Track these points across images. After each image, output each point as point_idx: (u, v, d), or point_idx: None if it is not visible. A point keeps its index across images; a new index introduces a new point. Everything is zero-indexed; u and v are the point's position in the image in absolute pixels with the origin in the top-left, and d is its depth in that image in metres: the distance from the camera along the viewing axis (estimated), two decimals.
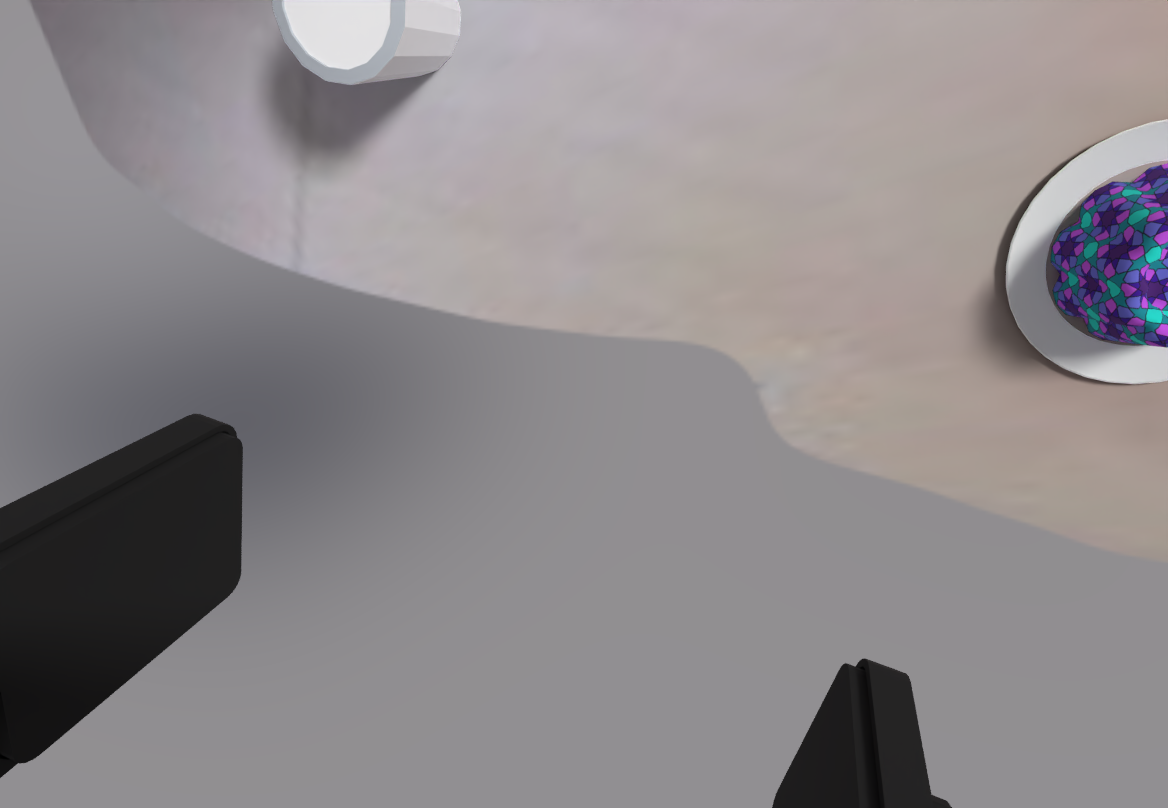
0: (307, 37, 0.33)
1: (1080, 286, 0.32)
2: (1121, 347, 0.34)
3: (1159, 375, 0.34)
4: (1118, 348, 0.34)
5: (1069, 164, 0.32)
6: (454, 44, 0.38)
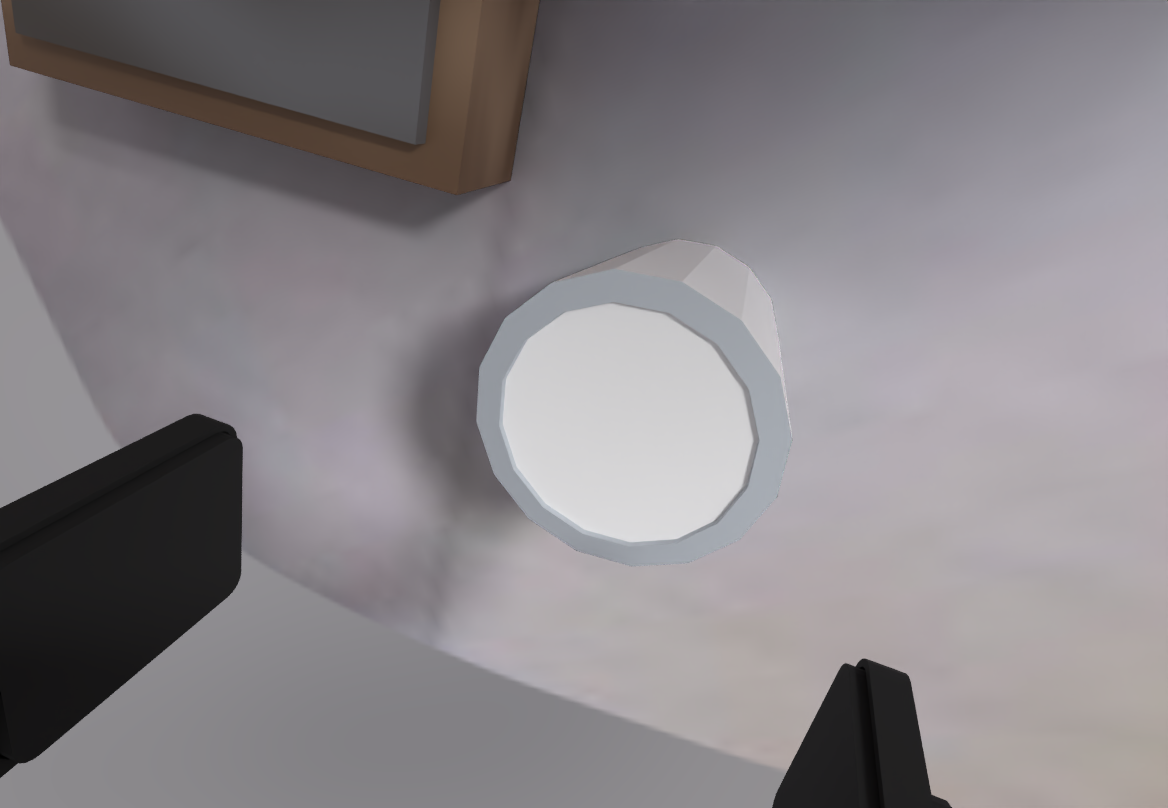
0: (546, 478, 0.16)
1: None
2: None
3: None
4: None
5: None
6: None
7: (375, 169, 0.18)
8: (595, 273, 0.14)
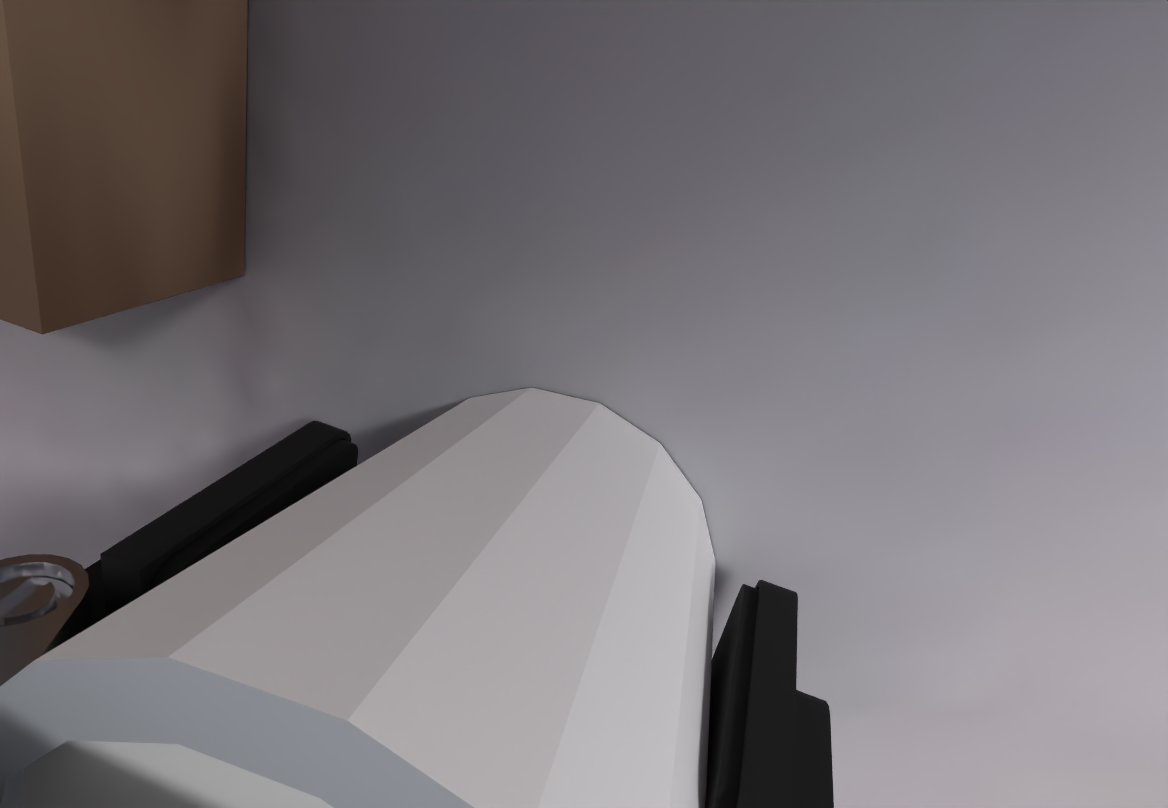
0: None
1: None
2: None
3: None
4: None
5: None
6: None
7: None
8: (131, 655, 0.05)
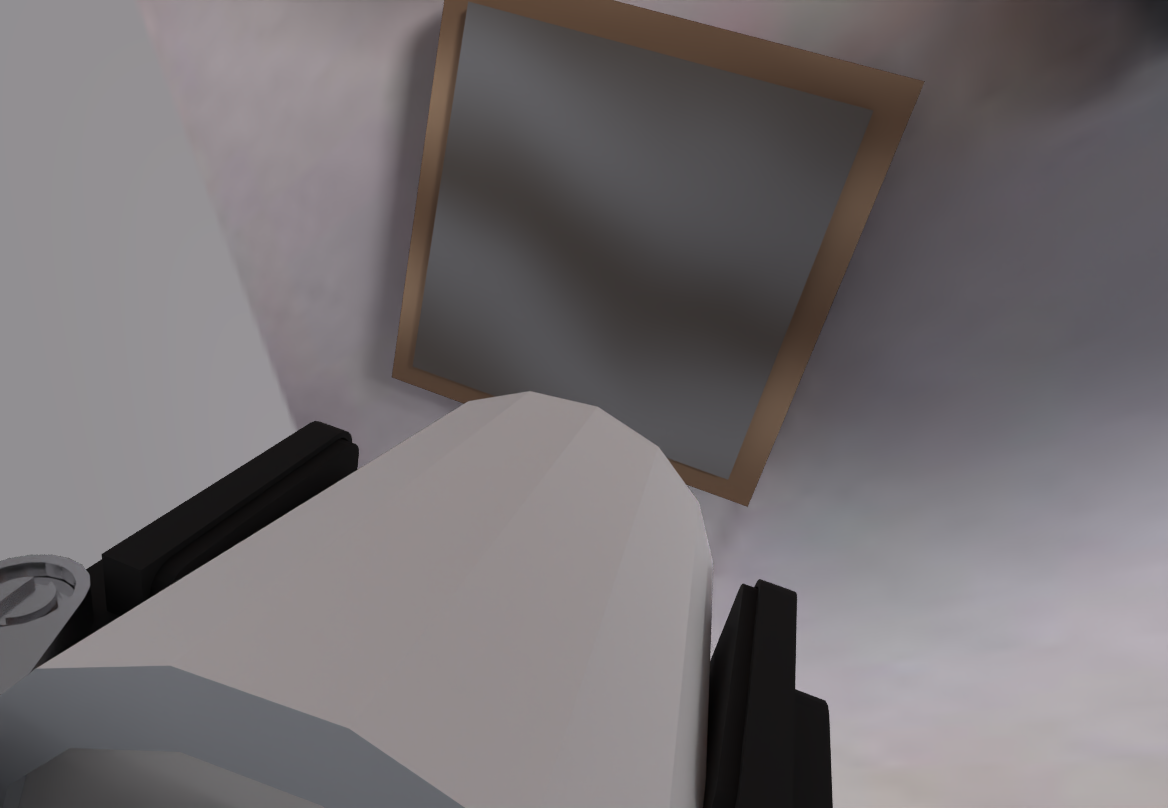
0: None
1: None
2: None
3: None
4: None
5: None
6: None
7: (685, 483, 0.25)
8: (133, 663, 0.05)
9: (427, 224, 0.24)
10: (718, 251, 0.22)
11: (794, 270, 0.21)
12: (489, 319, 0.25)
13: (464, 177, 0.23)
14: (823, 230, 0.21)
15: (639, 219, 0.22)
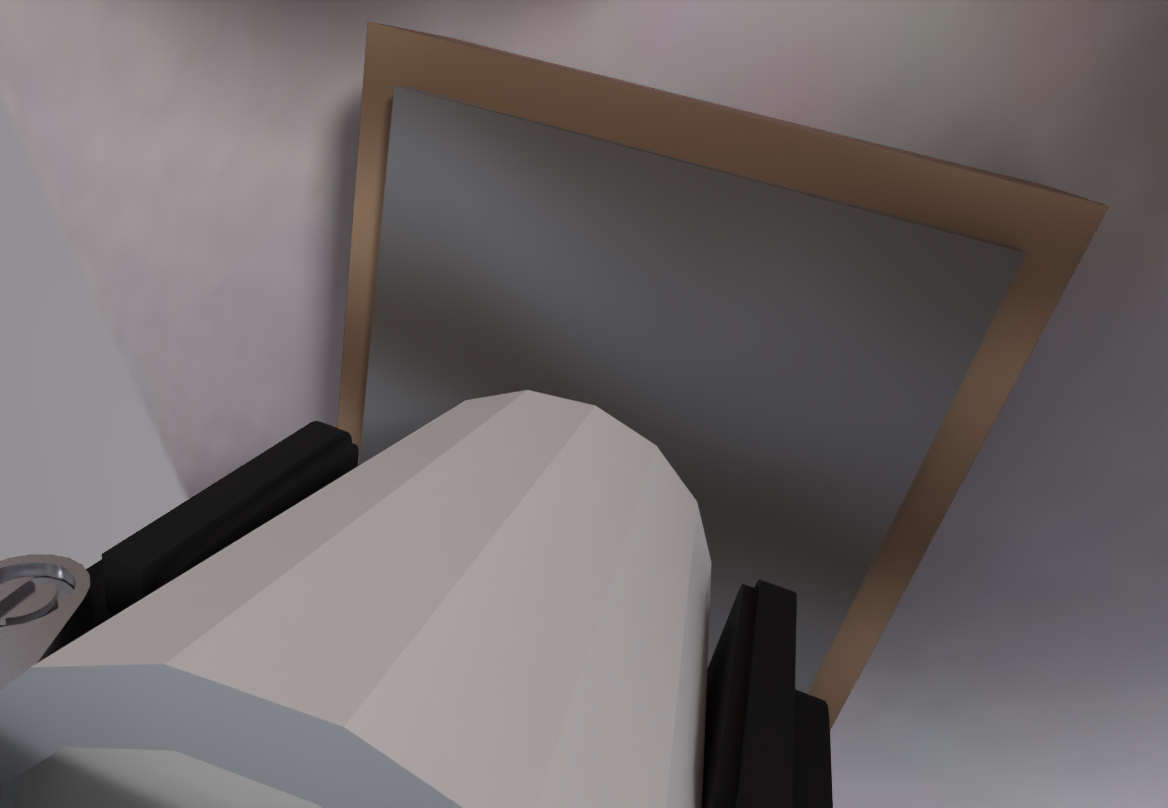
0: None
1: None
2: None
3: None
4: None
5: None
6: None
7: None
8: (128, 662, 0.05)
9: (359, 381, 0.18)
10: (773, 442, 0.15)
11: (890, 474, 0.14)
12: None
13: (403, 327, 0.16)
14: (937, 421, 0.14)
15: (655, 393, 0.15)
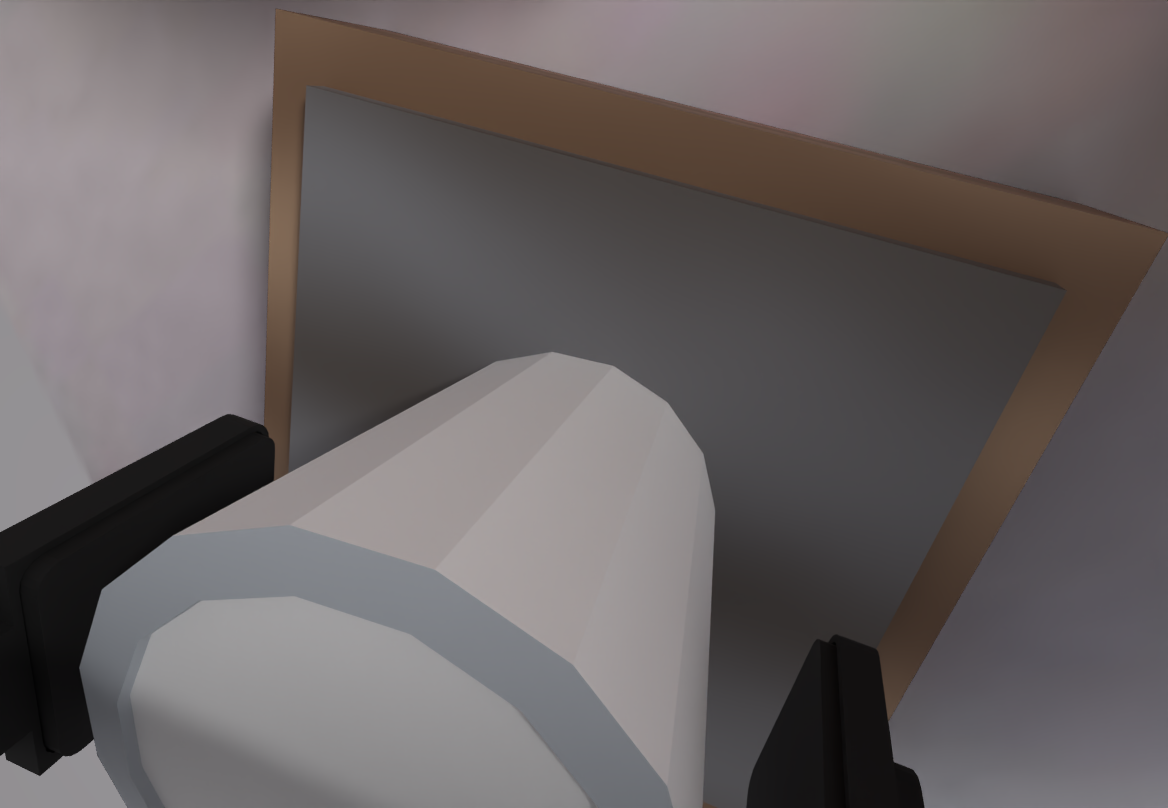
0: None
1: None
2: None
3: None
4: None
5: None
6: None
7: None
8: (256, 527, 0.06)
9: (285, 426, 0.15)
10: (760, 507, 0.12)
11: (898, 547, 0.12)
12: None
13: (329, 367, 0.14)
14: (955, 488, 0.11)
15: None
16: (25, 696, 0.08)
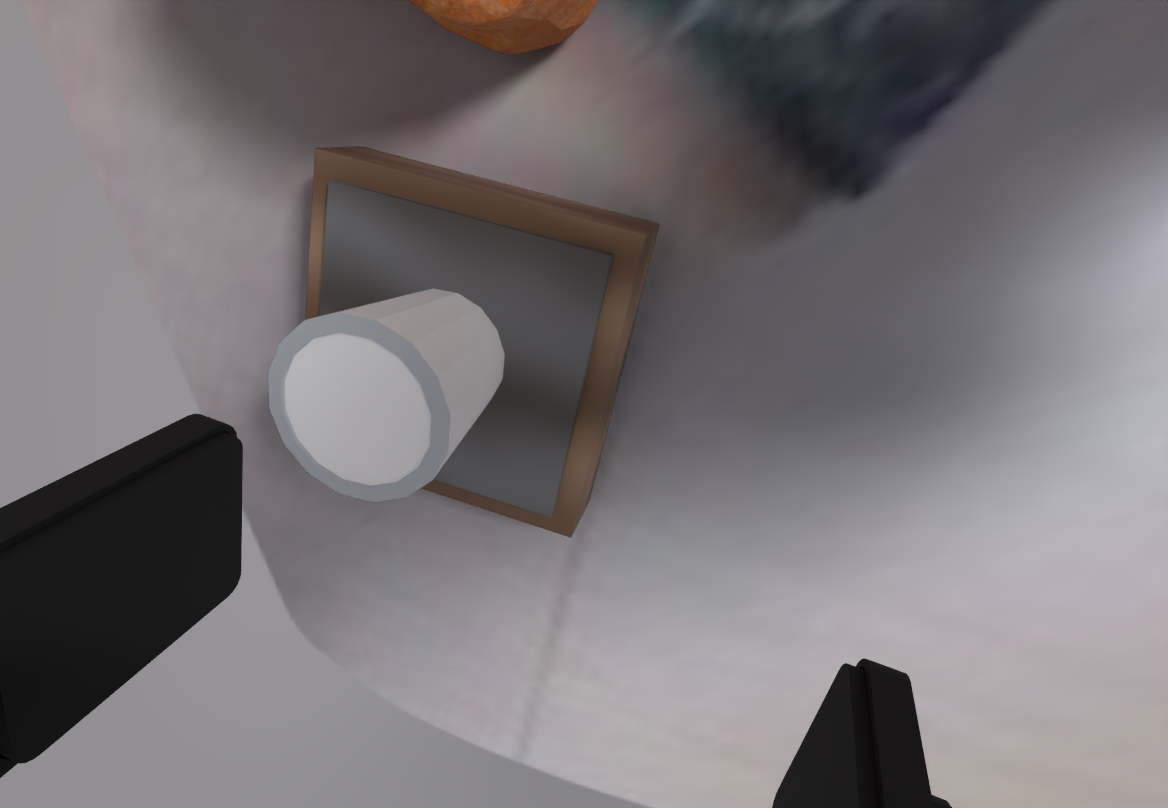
0: (315, 445, 0.25)
1: None
2: None
3: None
4: None
5: None
6: (495, 390, 0.30)
7: (524, 521, 0.33)
8: (328, 314, 0.23)
9: None
10: (522, 352, 0.29)
11: (575, 364, 0.29)
12: None
13: (337, 300, 0.31)
14: (591, 336, 0.28)
15: None
16: None
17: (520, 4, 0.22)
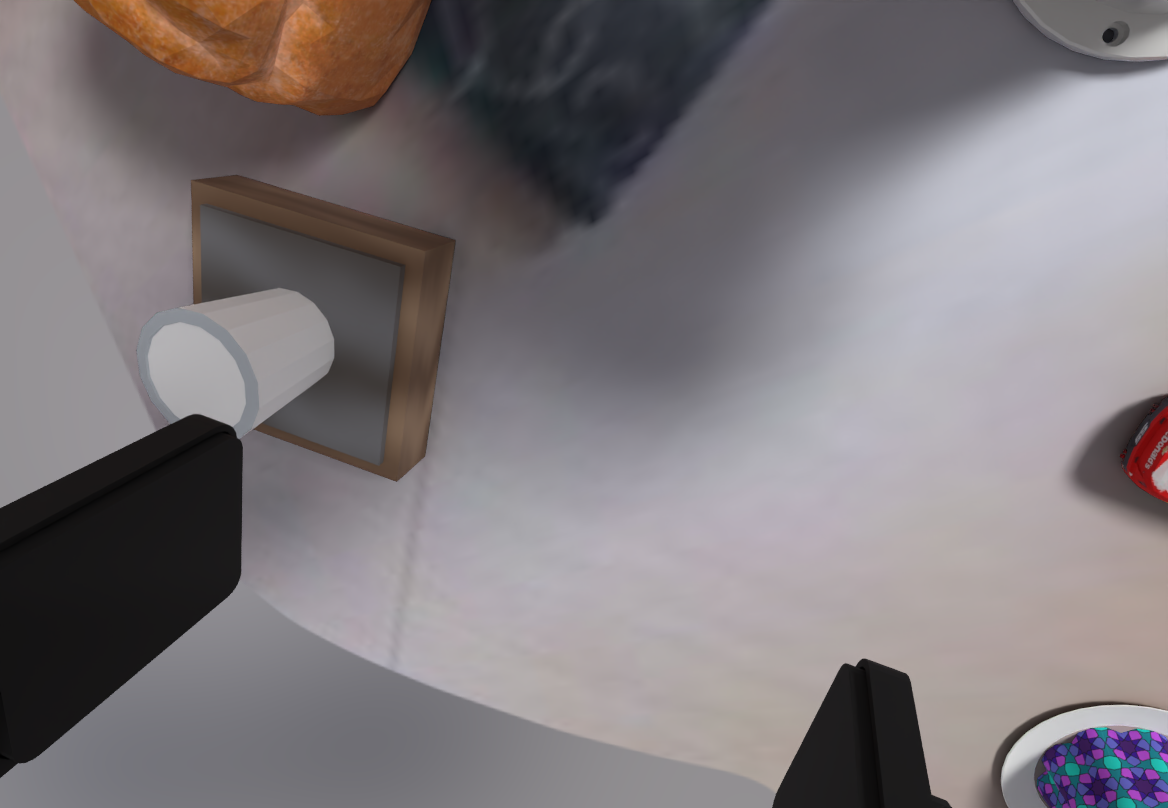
0: (172, 402, 0.35)
1: None
2: None
3: None
4: None
5: (1015, 744, 0.41)
6: (328, 366, 0.39)
7: (362, 468, 0.42)
8: (172, 309, 0.33)
9: None
10: (345, 337, 0.39)
11: (384, 347, 0.38)
12: None
13: (213, 295, 0.40)
14: (392, 326, 0.38)
15: None
16: None
17: (306, 93, 0.31)
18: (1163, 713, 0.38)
